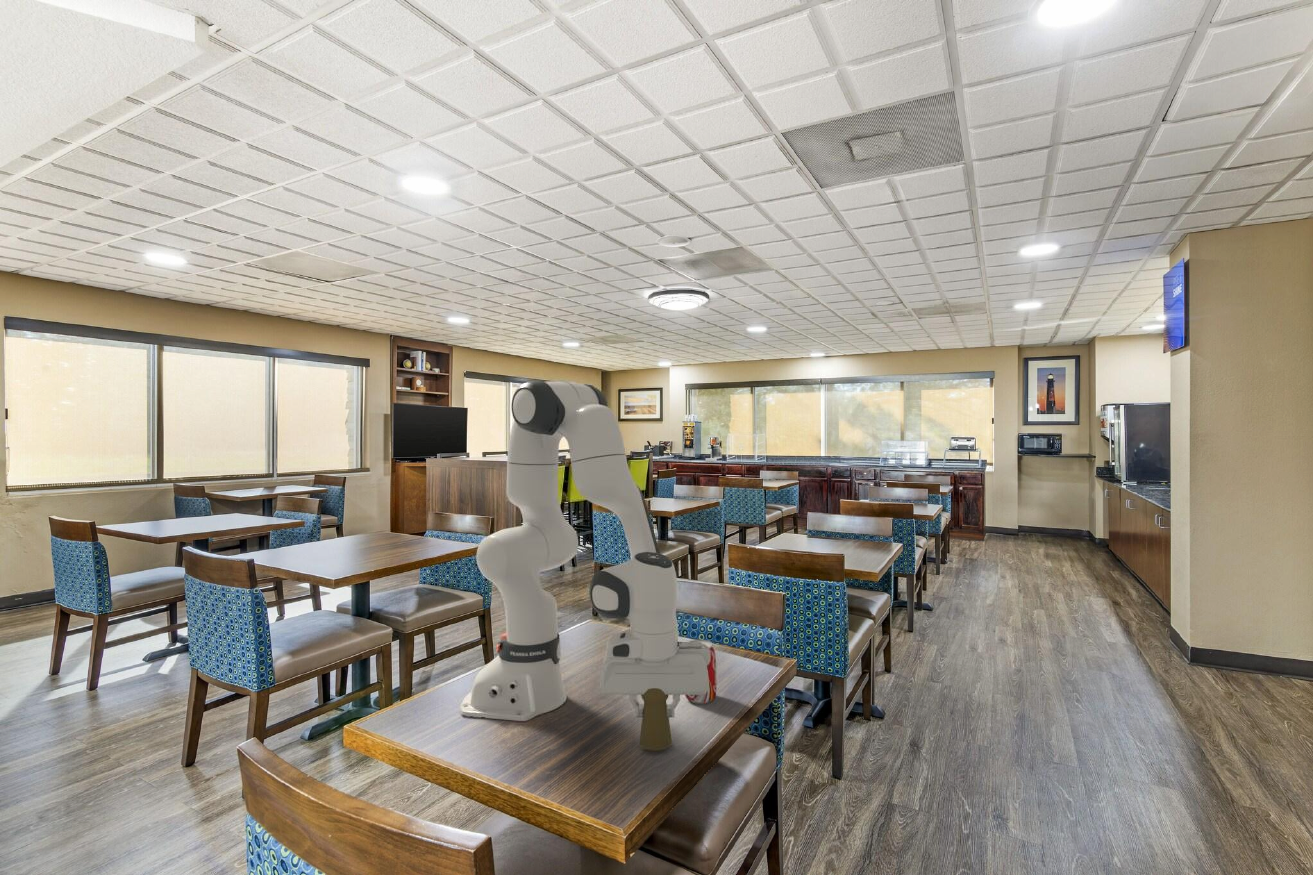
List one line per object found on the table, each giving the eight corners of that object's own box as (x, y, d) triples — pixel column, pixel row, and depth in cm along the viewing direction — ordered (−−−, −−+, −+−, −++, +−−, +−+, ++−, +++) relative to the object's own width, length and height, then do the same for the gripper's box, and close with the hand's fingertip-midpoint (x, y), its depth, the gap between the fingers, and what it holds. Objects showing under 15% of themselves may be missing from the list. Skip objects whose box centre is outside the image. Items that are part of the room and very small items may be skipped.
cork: (632, 741, 107) (631, 682, 107) (656, 729, 112) (655, 673, 112) (655, 754, 103) (654, 692, 103) (678, 741, 107) (677, 682, 107)
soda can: (715, 707, 123) (713, 650, 123) (682, 705, 124) (680, 649, 124) (718, 692, 130) (717, 639, 130) (687, 690, 131) (685, 637, 131)
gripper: (709, 635, 110) (709, 708, 110) (602, 635, 111) (603, 707, 111) (711, 648, 104) (712, 724, 104) (597, 648, 104) (598, 724, 105)
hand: (654, 716), depth 107 cm, fingers closed on cork, 4 cm apart
